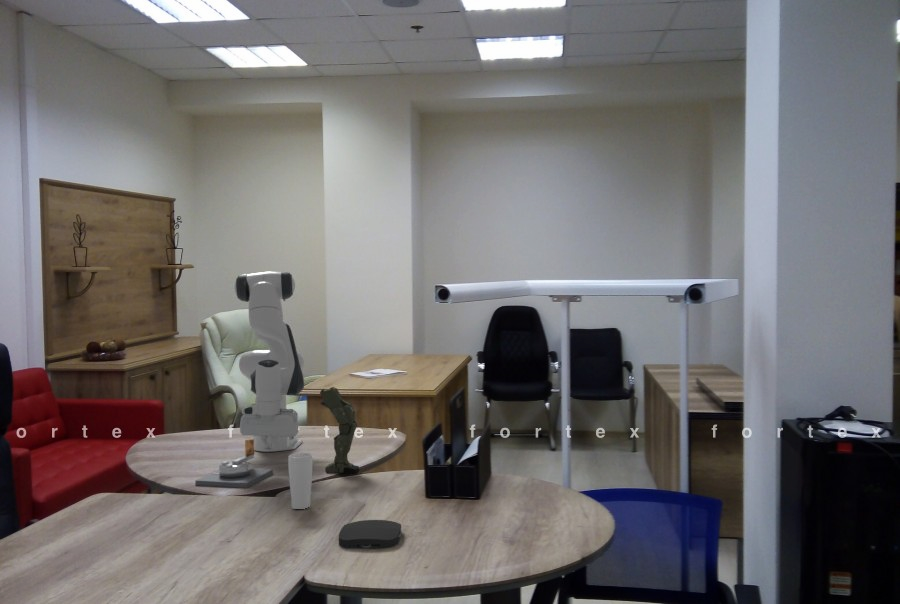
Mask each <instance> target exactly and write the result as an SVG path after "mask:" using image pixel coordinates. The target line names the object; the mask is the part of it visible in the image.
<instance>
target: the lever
mask: <svg viewBox="0 0 900 604" xmlns="http://www.w3.org/2000/svg"><path fill="white" fill-rule="evenodd" d="M244 449H245V450H244V455H243V456H241V457H239V458H236V459H233V460H232V461H230V462H229V461H222V462H221V464H219V466H218V470H219V476H220V477H225V478H236V477H243V476H247V475H249V474H251V469H252V464H251V462H248V461H250V460H252V459H254V458H255V450H254V439H253V438H252V439H251V438H248V439H245V440H244Z"/></svg>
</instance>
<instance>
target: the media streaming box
mask: <svg viewBox="0 0 900 604" xmlns="http://www.w3.org/2000/svg"><path fill="white" fill-rule="evenodd" d="M401 537H402V524H401V523H399V522H396V521H392V520H386V519H385V520H384V519H365V520H359V521H357V520H356V521H353V522H350V523H346V524H344V525H343V526H342V528H341V529H340V531H339V534H338V546H339V547H341V548H344V549H387V548H389V549H390V548H393V547H396V546H397V545H398V544H399V543H400V540H401Z"/></svg>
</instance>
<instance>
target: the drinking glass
mask: <svg viewBox="0 0 900 604" xmlns="http://www.w3.org/2000/svg"><path fill="white" fill-rule="evenodd" d="M287 459H288V460H287V461H288V462H287V469H288V480H289V491H290V501H291V502H290V503H291V506H290V507H291V509H293V510H295V509H304V508H307V509H309V508H310V507H311V502H312V501H311V497H312V496H311V495H312V484H313V483H312V482H313V469H314V468H313V465H314V463H313V454H312V453H309V452H295V453H291V454H289V455H288V458H287ZM308 507H309V508H308ZM304 510H305V509H304Z"/></svg>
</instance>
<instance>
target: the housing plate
mask: <svg viewBox="0 0 900 604" xmlns="http://www.w3.org/2000/svg"><path fill="white" fill-rule="evenodd" d="M273 474H274V469H270V468H268V469H267V468H251V474H249V475H247V476H243V477H236V478H225V477H220V476H219V469H218V470H216V471H214V472H211V473H208V474H206V475H205V476H202V477H200V478H198V479H196V480H195V481H194V482H195V486H202V487H205V486H206V487H220V488H221V487H222V488H223V487H224V488H244V489H246V488H247V489H248V488H249V487H251V486H252V485H255V484H257V483H259V482H260V481H262V480H264V479H266V478H268V477H270V476H271V475H273Z"/></svg>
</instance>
